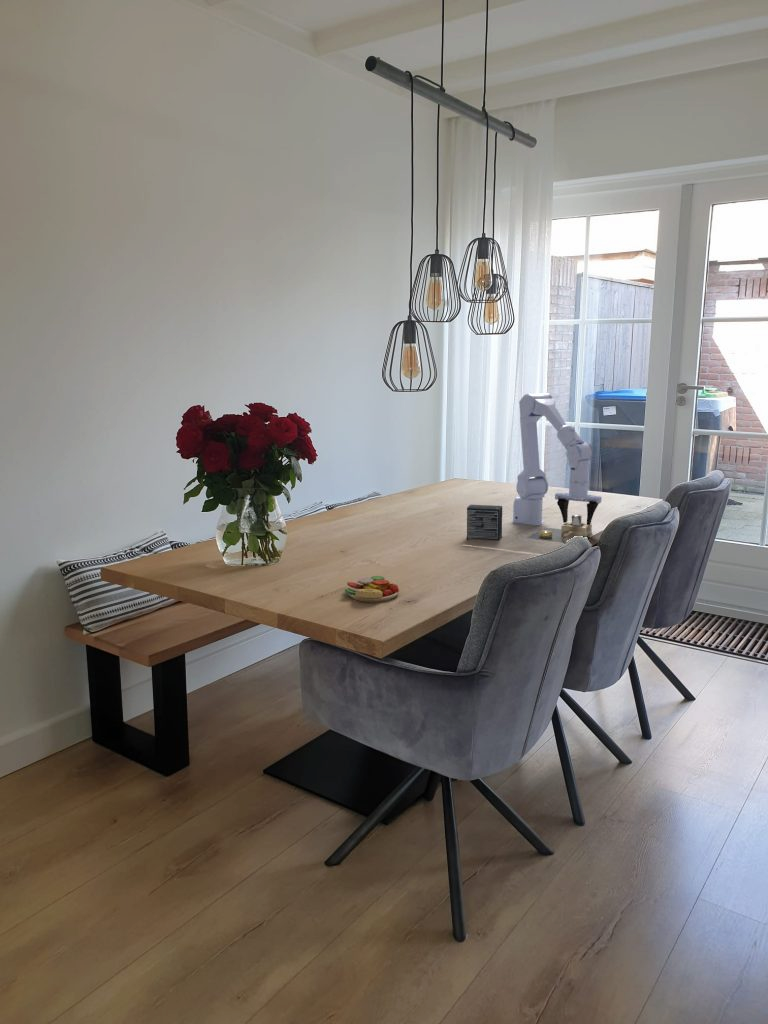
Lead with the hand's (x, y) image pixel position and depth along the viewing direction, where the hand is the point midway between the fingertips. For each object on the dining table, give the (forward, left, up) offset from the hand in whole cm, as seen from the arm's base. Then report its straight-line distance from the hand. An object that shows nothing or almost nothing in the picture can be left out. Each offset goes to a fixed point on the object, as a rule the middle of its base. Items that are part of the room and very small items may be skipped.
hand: (576, 523), depth 262 cm
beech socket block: (0, 0, -3) cm, 3 cm away
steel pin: (0, 0, -3) cm, 3 cm away
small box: (-24, -18, -4) cm, 31 cm away
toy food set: (-25, -86, -4) cm, 90 cm away
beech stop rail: (0, -10, -3) cm, 10 cm away
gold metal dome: (-7, -10, -3) cm, 12 cm away
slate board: (-4, -4, -4) cm, 7 cm away
